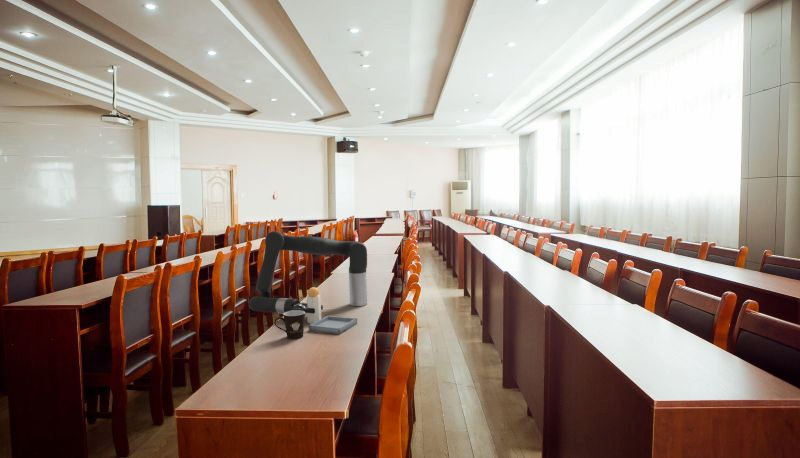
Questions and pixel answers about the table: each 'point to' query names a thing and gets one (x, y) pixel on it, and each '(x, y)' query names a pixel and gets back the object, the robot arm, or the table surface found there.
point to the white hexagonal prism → (315, 303)
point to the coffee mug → (293, 324)
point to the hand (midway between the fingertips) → (318, 309)
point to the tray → (333, 324)
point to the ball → (313, 292)
